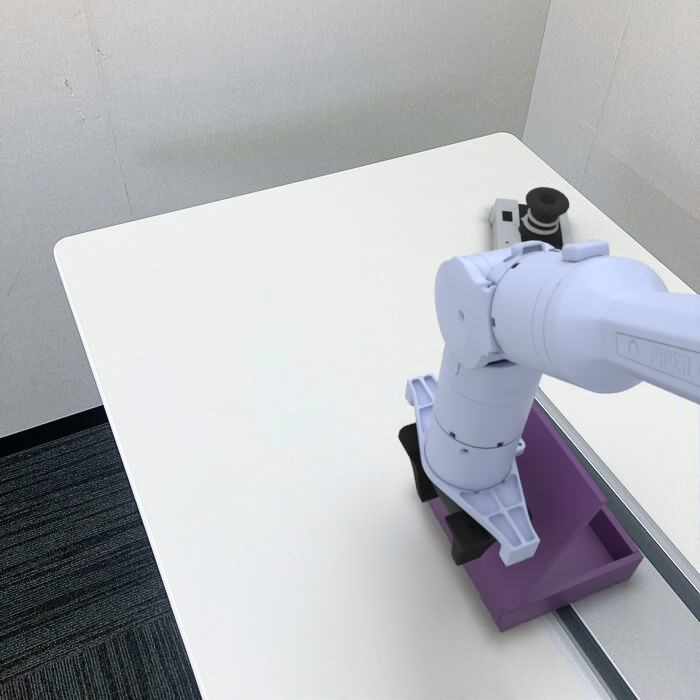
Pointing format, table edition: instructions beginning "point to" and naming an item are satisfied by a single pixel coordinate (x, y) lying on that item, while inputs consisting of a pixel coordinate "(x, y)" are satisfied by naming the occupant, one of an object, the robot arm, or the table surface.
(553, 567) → the purple box
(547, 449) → the box cover
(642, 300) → the robot arm
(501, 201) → the camera
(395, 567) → the table surface
